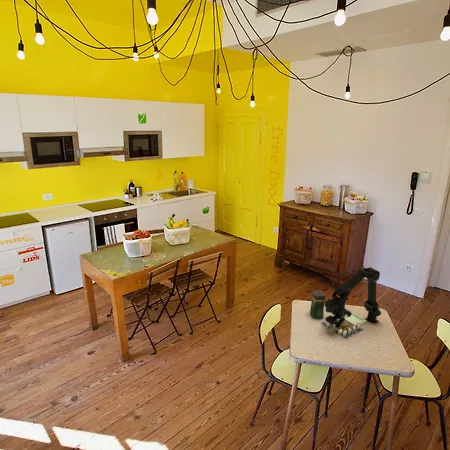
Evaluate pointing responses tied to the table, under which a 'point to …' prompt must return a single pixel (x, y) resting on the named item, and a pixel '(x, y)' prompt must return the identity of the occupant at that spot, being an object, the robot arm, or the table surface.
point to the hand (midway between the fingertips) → (337, 327)
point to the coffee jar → (317, 304)
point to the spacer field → (344, 332)
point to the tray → (355, 319)
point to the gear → (344, 325)
